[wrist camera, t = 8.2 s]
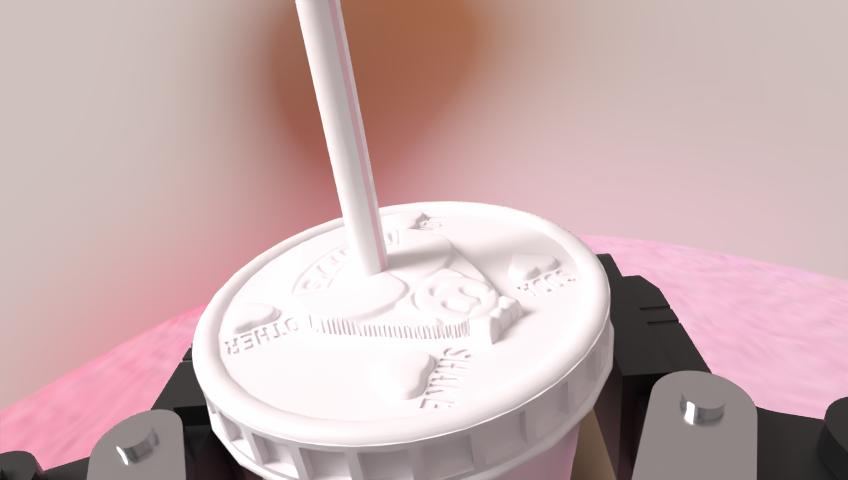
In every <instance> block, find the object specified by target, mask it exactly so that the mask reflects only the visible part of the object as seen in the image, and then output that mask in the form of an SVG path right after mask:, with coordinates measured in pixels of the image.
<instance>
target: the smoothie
mask: <svg viewBox="0 0 848 480" xmlns="http://www.w3.org/2000/svg"><path fill="white" fill-rule="evenodd" d="M295 1H296V6H297V10H298V15H299V19H300V24H301V29H302V32H303V38H304V42H305V46H306V51H307V56H308V60H309V64H310V69H311V74H312V78H313V82H314V87H315V91H316V96H317V100H318V105H319V110H320V114H321V119H322V123H323V128H324V132H325V137H326V141H327V145H328V150H329V155H330V159H331V164H332V167H333V172H334V176H335V182H336V186H337V190H338V195H339V199H340V204H341V208H342V213H343V217H341V218H338V219H335V220H332V221H329V222H326V223H324V224H321V225H318V226H316V227H313V228H310V229H308V230H305V231H303V232H301V233H299V234H297V235H295V236H293V237H291V238H289V239H286V240H284V241H282V242H281V243H279V244H277V245H276V246H274V247H272V248H271V249H269V250H267V251H266V252H264V253H263V254H261V255H259V256H257V257H256V258H255V259H254V260H252V261H251V262H250V263H248V264H247V265H246V266H245V267H243V268H242V269H240V270H239V271H238V272H237V273H235V274H234V275H233V276H232V278H230V280H229V281H228V282H227V283H226V284H225V285H224V286H223V287H222V288H221V289H220V290H219V291H218V292H217V293H216V294H215V296H214V298H213V299H212V301H211V302H210V303H209V305H208V306H207V308H206V309H205V311H204V313H203V315H202V316H201V318H200V321H199V323H198V326H197V328H196V331H195V335H194V339H193V347H192V359H193V367H194V370H195V373H196V377H197V379H198V382H199V384H200V387H201V389H202V391H203V394H204V396H205V399H206V402H207V407H208V411H209V416H210V421H211V425H212V430H213V431H214V433H215V434H216V435H217V437H218V438H219V439H220V440H221V442H222V443H223V444H224V445H225V447H226V448H227V449H228V450H229V452H230V453H231V454H232V456H233V457H234V458H235V459H236V461H237V462H238V463H239V464H240V465H241V466H243V467H245V468H247V469H248V470H250V471H252V472H254V473H256V474H257V475H259V476H261V477H263V478H264V479H266V480H570V477H571V471H572V465H573V459H574V456H575V452H576V446H577V440H578V433H579V426H580V421H581V420H582V419H583V418H584V417H585V416H586V415H587V414H588V413H589V412H590V411H591V410H592V409H593V407H594V405H595V402H596V400H597V398H598V396H599V394H600V392H601V390H602V388H603V386H604V384H605V382H606V380H607V378H608V376H609V374H610V372H611V370H612V367H613V345H614V328H613V325H612V323H611V321H610V286H609V282H608V277H607V275H606V272H605V270H604V268H603V265H602V264H601V262H600V261H599V259H598V258H597V256H596V255H595V254H594V253H593V251H592V250H591V249H590V248H589V247H588V246H587V245H586V244H585V243H584V242H583V241H581V240H580V239H579V238H578V237H577V236H575V235H573V234H572V233H571V232H569V231H567V230H566V229H564V228H562V227H561V226H559V225H558V224H556V223H553V222H551V221H549V220H546V219H544V218H542V217H539V216H537V215H534V214H532V213H528V212H524V211H520V210H516V209H513V208H509V207H504V206H498V205H491V204H484V203H476V202H456V201H443V202H420V203H411V204H402V205H394V206H388V207H383V208H378V202H377V197H376V192H375V186H374V181H373V177H372V171H371V165H370V160H369V154H368V149H367V144H366V139H365V133H364V128H363V123H362V118H361V112H360V107H359V101H358V96H357V91H356V85H355V80H354V75H353V70H352V64H351V59H350V54H349V49H348V43H347V38H346V33H345V28H344V22H343V16H342V11H341V7H340V1H339V0H295Z"/></svg>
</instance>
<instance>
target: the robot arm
mask: <svg viewBox="0 0 848 480" xmlns="http://www.w3.org/2000/svg"><path fill="white" fill-rule="evenodd" d="M596 256H597V258H598V259H599V261H600V262H601V264H602V265H603V268H604V270H605V272H606V275H607V277H608V282H609V286H610V321H611V323H612V325H613V328H614V345H613V367H612V370H611V372H610V374H609V376H608V378H607V380H606V382H605V384H604V386H603V388H602V390H601V392H600V394H599V396H598V398H597V400H596V402H595V405H594V407H593V409H594V412H595V415H596V418H597V421H598V424H599V427H600V430H601V433H602V437H603V440H604V443H605V446H606V449H607V452H608V455H609V458H610V462H611V465H612V468H613V471H614V474H615V477H616V480H848V397H844V398H841V399H839V400H836V401H834V402H833V403H832V404H831V405H830V406H829V407H828V409H827V410H826V414H825V417H824V420H822V419H816V418H810V417H804V416H798V415H791V414H785V413H779V412H774V411H770V410H766V409H763V408H759V407H757V406H755V404H754V402H753V401H752V399H751V398H750V396H749V395H748V394H747V393H746V392H745V391H744V390H743V389H741V388H740V387H739V386H737V385H736V384H734V383H733V382H731V381H729V380H727V379H725V378H723V377H720V376H717V375H714V374H712V373H711V371H710V369H709V368H708V366H707V365H706V363H705V361H704V360H703V358H702V357H701V355H700V353H699V352H698V350H697V348H696V347H695V345H694V344H693V342H692V340H691V339H690V337H689V336H688V334H687V332H686V331H685V329H684V328H683V326H682V324H681V323H679V320H678V318H677V316H676V315H675V313H674V312H673V310H672V309H670V305H669V303H668V302H667V300H666V299H665V297H664V295H663V294H662V292H661V291H660V289H659V288H657V287H656V286H655V285H653V284H652V283H650V282H649V281H647V280H646V279H644V278H643V277H641V276H640V275H637V276H626V277H622V275H621V273H620V271H619V269H618V268H617V266H616V264H615V262H614V260H613V258H612V256H611V255H610V254H597V255H596ZM191 345H192V347H193V343H192V344H191ZM0 480H263V477H261V476H259V475H257V474H256V473H254V472H252V471H250V470H248V469H247V468H245V467H243V466H241V465H240V464H239V463H238V462H237V461H236V459H235V458H234V457H233V456H232V454H231V453H230V452H229V450H228V449H227V448H226V447H225V445H224V444H223V443H222V442H221V440H220V439H219V438H218V437H217V435H216V434H215V433H214V431H213V430H212V425H211V421H210V416H209V411H208V407H207V402H206V399H205V396H204V394H203V391H202V389H201V387H200V384H199V382H198V379H197V377H196V373H195V370H194V367H193V359H192V348H189V349H188V351H187V352H186V354H185V356H184V357H183V362H181V363H180V364H179V365H178V367H177V368H176V370H175V372H174V373H173V375H172V376H171V378H170V380H169V381H168V383H167V384H166V386H165V388H164V389H163V391H162V392H161V394H160V396H159V397H158V399H157V400H156V402H155V403H154V405H153V407H152V408H151V410H150V411H145V412H142V413H139V414H136V415H134V416H131V417H129V418H127V419H125V420H123V421H122V422H120V423H119V424H117V425H115V426H114V427H113V428H112V429H110V430H109V431H108V432H107V433H106V434H105V435H103V436H102V438H101V439H100V440H99V441H98V442H97V444H96V445H95V447H94V448H93V450H92V452H91V455H90V457H87V458H84V459H80V460H77V461H74V462H71V463H68V464H64V465H61V466H58V467H55V468H52V469H49V470H45V471H43V469H42V468H41V466H40V465H39V463H38V462H37V460H36V459H35V457H34V456H33V455H32V454H31V453H28V452H25V451H11V452H6V453H2V454H0Z"/></svg>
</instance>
